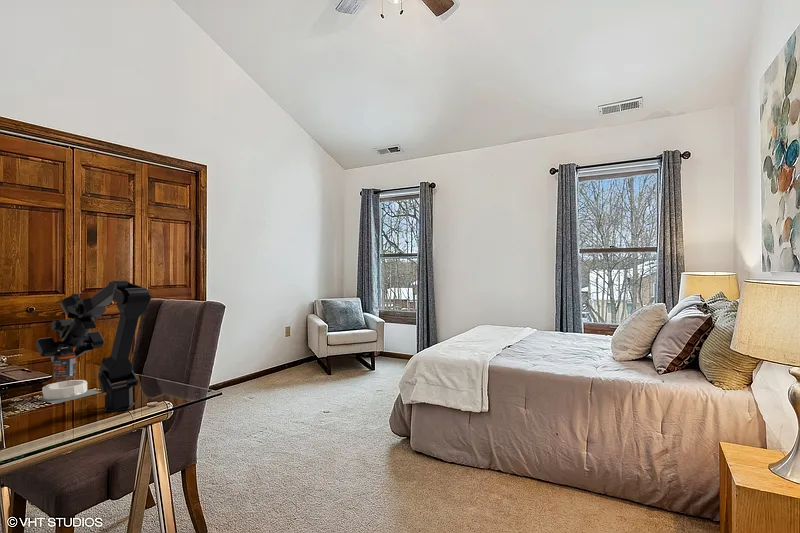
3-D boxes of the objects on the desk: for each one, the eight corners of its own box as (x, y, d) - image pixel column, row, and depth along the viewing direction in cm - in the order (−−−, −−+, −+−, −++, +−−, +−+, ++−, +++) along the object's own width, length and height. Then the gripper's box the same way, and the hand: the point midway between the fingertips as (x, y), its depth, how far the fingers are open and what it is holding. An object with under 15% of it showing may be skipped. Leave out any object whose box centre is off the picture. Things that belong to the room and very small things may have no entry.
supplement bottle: (50, 381, 147) (49, 348, 148) (60, 377, 153) (59, 345, 153) (69, 380, 149) (69, 347, 149) (79, 376, 154) (78, 344, 155)
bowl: (92, 388, 158) (92, 378, 158) (77, 397, 147) (77, 387, 147) (54, 391, 155) (54, 381, 155) (35, 401, 144) (35, 390, 144)
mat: (101, 393, 153) (101, 392, 153) (55, 404, 141) (55, 403, 141) (74, 387, 162) (74, 386, 162) (28, 398, 149) (28, 397, 149)
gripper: (99, 308, 158) (83, 338, 163) (37, 314, 141) (21, 346, 146) (112, 331, 154) (95, 360, 159) (50, 339, 137) (33, 372, 142)
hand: (62, 359), depth 152 cm, fingers closed on supplement bottle, 6 cm apart
